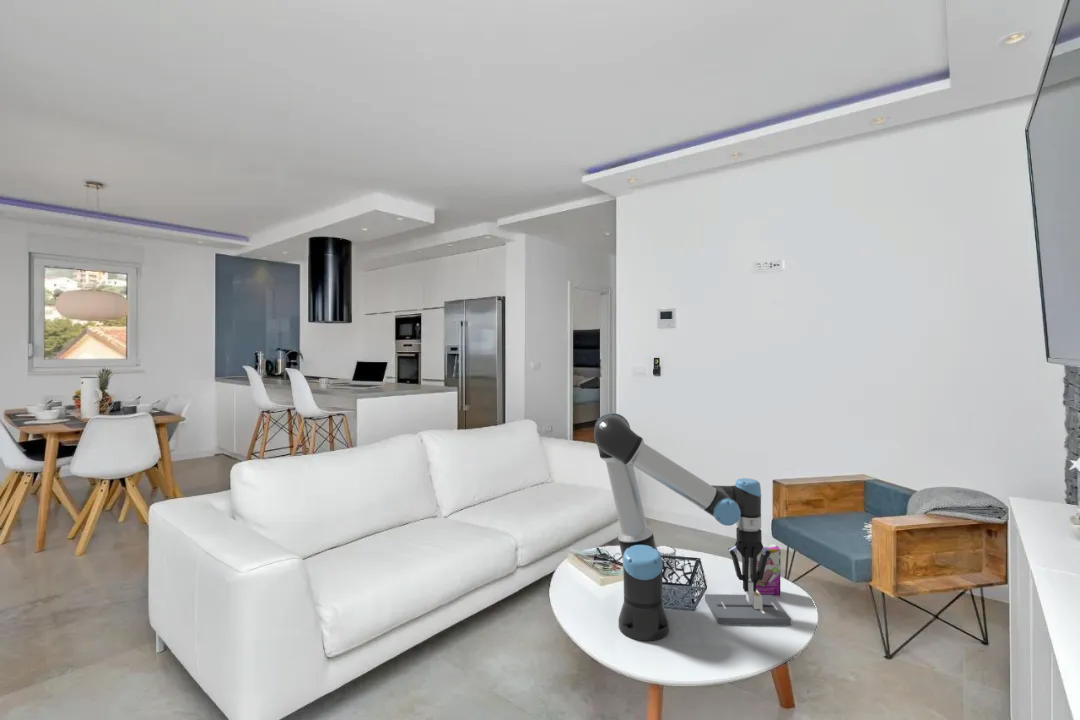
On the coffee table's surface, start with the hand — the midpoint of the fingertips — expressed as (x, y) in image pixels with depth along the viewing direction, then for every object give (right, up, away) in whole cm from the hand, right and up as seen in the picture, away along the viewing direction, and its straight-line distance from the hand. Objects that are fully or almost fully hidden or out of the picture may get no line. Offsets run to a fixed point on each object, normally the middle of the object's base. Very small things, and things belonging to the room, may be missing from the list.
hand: (749, 600), depth 171 cm
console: (-1, -4, 0) cm, 4 cm away
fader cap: (+2, -1, 0) cm, 2 cm away
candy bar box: (+10, -4, +13) cm, 17 cm away
